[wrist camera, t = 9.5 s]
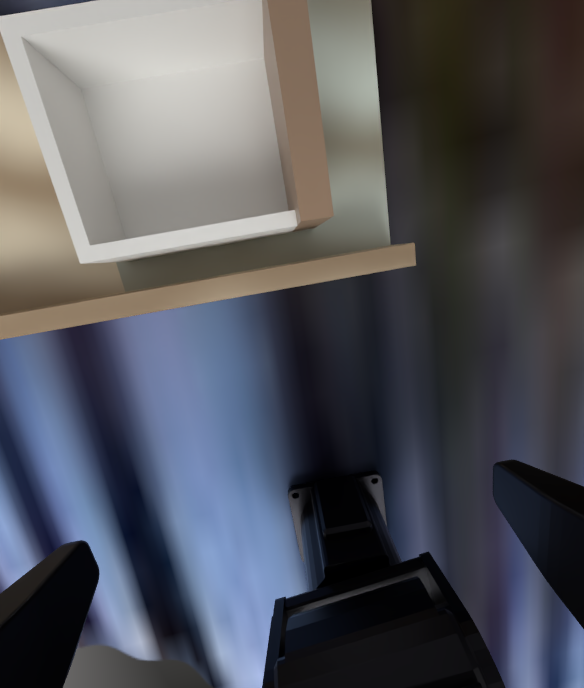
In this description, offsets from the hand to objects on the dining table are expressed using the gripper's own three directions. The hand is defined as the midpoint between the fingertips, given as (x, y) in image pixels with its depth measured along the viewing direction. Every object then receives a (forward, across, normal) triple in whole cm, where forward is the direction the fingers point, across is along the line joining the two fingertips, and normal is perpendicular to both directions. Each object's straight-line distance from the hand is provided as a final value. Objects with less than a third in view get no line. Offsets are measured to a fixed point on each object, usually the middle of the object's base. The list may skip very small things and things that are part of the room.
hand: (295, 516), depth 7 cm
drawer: (+12, +2, -11) cm, 16 cm away
